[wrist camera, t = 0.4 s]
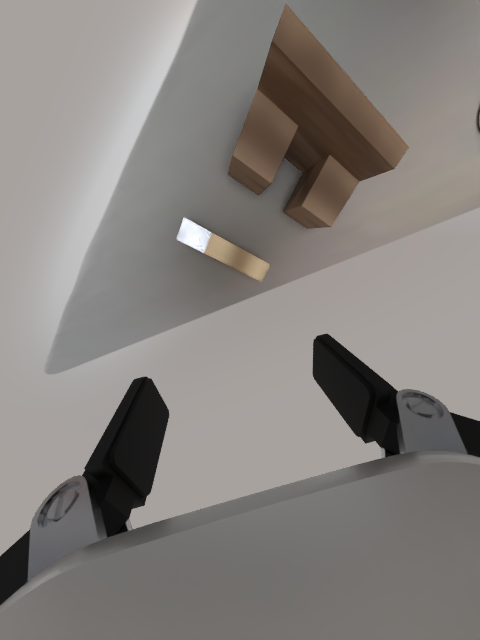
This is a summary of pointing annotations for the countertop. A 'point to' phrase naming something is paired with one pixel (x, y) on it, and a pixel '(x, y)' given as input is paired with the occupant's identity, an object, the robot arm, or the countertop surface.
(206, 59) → the countertop surface
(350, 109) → the wooden two-prong bracket
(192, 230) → the silver and tan rail
